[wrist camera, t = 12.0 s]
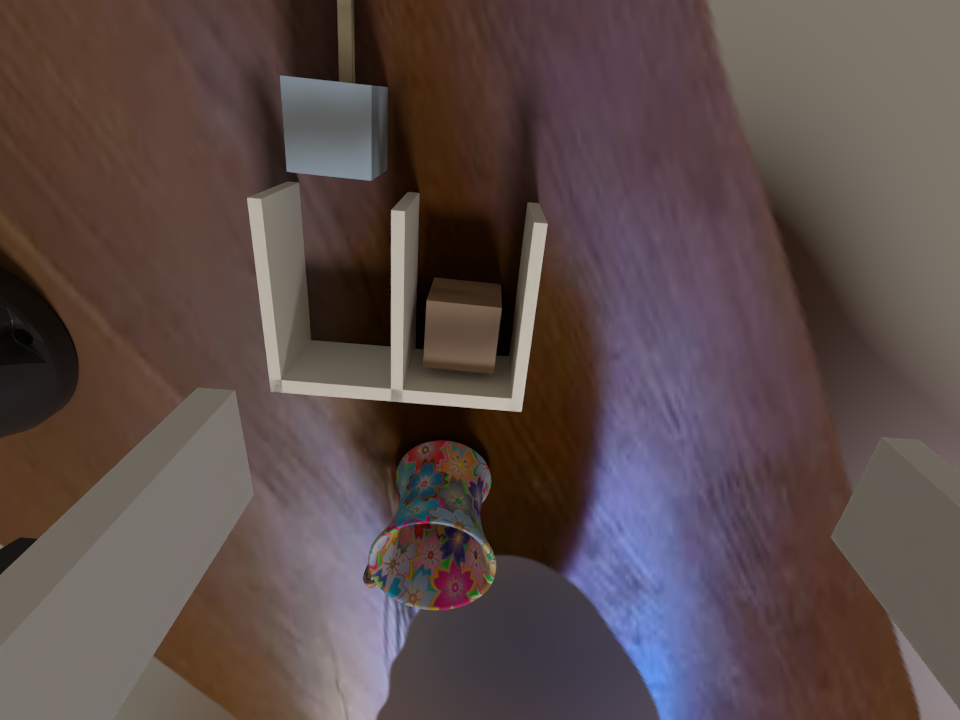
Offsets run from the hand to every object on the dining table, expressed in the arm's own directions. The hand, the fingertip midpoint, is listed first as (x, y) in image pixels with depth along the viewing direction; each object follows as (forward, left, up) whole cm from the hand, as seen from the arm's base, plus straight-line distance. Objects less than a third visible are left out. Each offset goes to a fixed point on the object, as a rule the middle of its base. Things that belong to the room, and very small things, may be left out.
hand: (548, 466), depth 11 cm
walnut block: (+1, -8, -28) cm, 29 cm away
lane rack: (-4, -8, -28) cm, 29 cm away
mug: (+6, -24, -28) cm, 38 cm away
